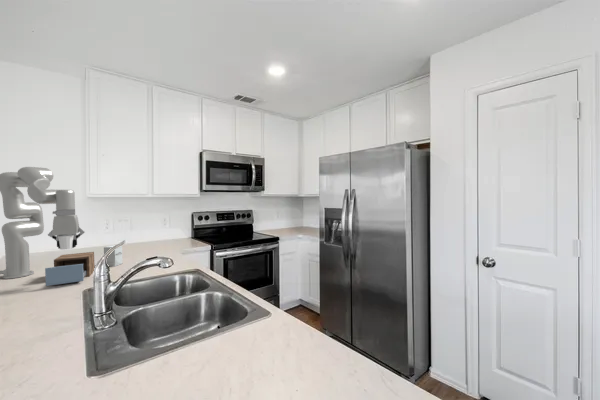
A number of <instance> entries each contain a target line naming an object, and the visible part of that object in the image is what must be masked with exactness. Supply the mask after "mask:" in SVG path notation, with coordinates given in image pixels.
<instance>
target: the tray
mask: <svg viewBox="0 0 600 400" xmlns="http://www.w3.org/2000/svg"><path fill="white" fill-rule="evenodd" d="M44 271H45V272H44V274H45V286H46V287H48V286H55V285H62V284H63V285H64V284H70V283H71V284H72V283H76V282H83V281H84V278H86V277H85V276H86V274H87V272H86V270H85V271H83V264H77V265H68V266H59V267H54V266H53V267H52V266H51V267H45V269H44Z"/></svg>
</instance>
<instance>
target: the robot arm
mask: <svg viewBox="0 0 600 400" xmlns="http://www.w3.org/2000/svg"><path fill="white" fill-rule="evenodd" d="M53 179H54V173H53V172H52V170H51V169H50V168H47V167H35V166H24V167H21V168H19V169H18V170H17V171H8V172H7V171H6V172H2V173H0V194H1V198H2V208H3V214H4V217H5V218H6V219H8V220H17V221H9V222H5V224H3V225H2V226H1V233H2V237H3V242H4V251H5V252H4V253H5V269H3V270H0V275H2V276H1V278H2V279H4V280H6V279H7V280H8V279H9V280H10V279H17V278H24V277H29V276H31V275H34V273H35V272H34V270H31V268H30V267H31V266H30V264H31V263H30V245H29V242H28V241H27V240H26V239H24V238H29V237H35V236H39V235H42V234H43V232H44V230H45V224H44V223H45V222H44V215H43V208H42V206H41V205H53V204H54V205H55V211H54V210H53V211H52V215H54V216H53V219H52V220H53V221H52V229H51V231H50V232H49V233H47V236H48V237H49V238H52V239H54V241H56V247H57V248H58V249H59V250H61V249H60V244H59V238H58V236H62V235H74V236H73V239H74V240H73V247H74V248H76V247H77V245H78V239H79V238H80V237H81V236H82V235H84V234H85V233H86V232H85V230H83V229H82V228H81V227H80V222H79V218H78V215H77V214H76V199H75V198H76V197H75V191H74V190H72V189H49V187H50V186H51V182H52V180H53ZM19 188H27V195H28V197H29V198H30V199H31V200H32V201H33V202H31V201H30V202H25V195H24V193H23V192H22V191H21V190H20V189H19ZM20 219H21V220H20ZM22 219H29V220H22Z"/></svg>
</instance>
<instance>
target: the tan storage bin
mask: <svg viewBox="0 0 600 400" xmlns="http://www.w3.org/2000/svg"><path fill="white" fill-rule="evenodd" d="M77 264H83V271H85V270H86V272H87V274H86V276H85V277H84V278H89V277H90V276H91V275H92V274H93V273H94V272H95V271H94V268H95V252H94V251H89V252H79V253H70V254H68V253H67V254H61V255H59V256H58V257H56V258H54V259H53V267H59V266H68V265H77ZM93 271H94V272H93Z"/></svg>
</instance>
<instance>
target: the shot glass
mask: <svg viewBox="0 0 600 400" xmlns="http://www.w3.org/2000/svg"><path fill="white" fill-rule="evenodd" d="M73 236H74V235H62V236H58V238H59V244H60V249H59V250H70V249H75V247H73V240H74V239H73Z"/></svg>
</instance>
